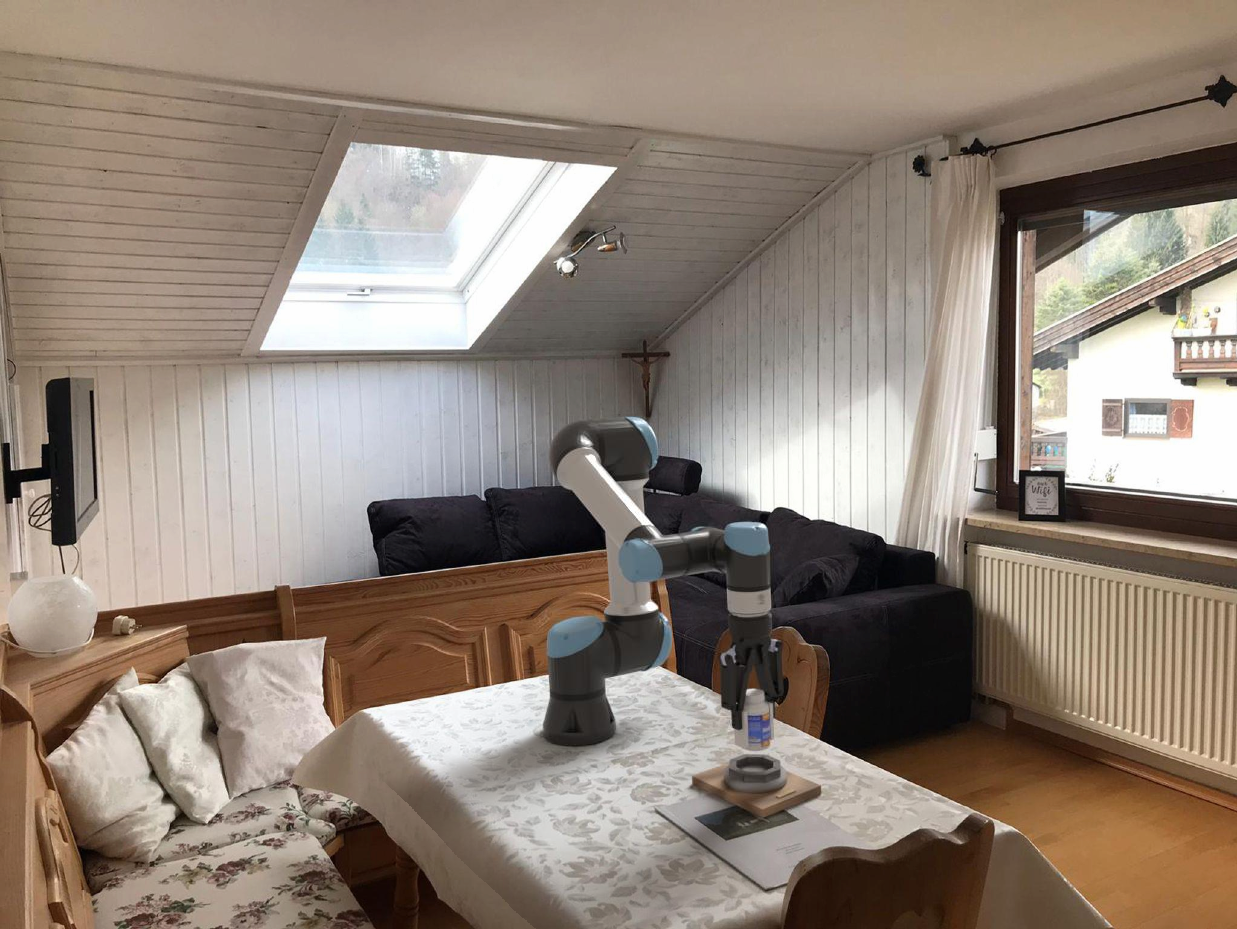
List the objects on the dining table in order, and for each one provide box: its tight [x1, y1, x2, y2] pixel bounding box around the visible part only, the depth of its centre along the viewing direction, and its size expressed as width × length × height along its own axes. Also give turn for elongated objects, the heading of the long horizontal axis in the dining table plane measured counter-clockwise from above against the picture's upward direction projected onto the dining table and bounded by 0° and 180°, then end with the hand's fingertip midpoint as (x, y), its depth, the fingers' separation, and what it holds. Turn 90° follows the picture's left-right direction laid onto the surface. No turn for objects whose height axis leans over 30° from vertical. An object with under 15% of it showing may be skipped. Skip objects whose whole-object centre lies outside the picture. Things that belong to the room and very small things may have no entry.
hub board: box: [691, 753, 822, 819], centre depth 174 cm, size 18×14×4 cm
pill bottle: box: [742, 688, 771, 752], centre depth 173 cm, size 5×5×10 cm
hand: (754, 741), depth 173 cm, fingers closed on pill bottle, 5 cm apart
